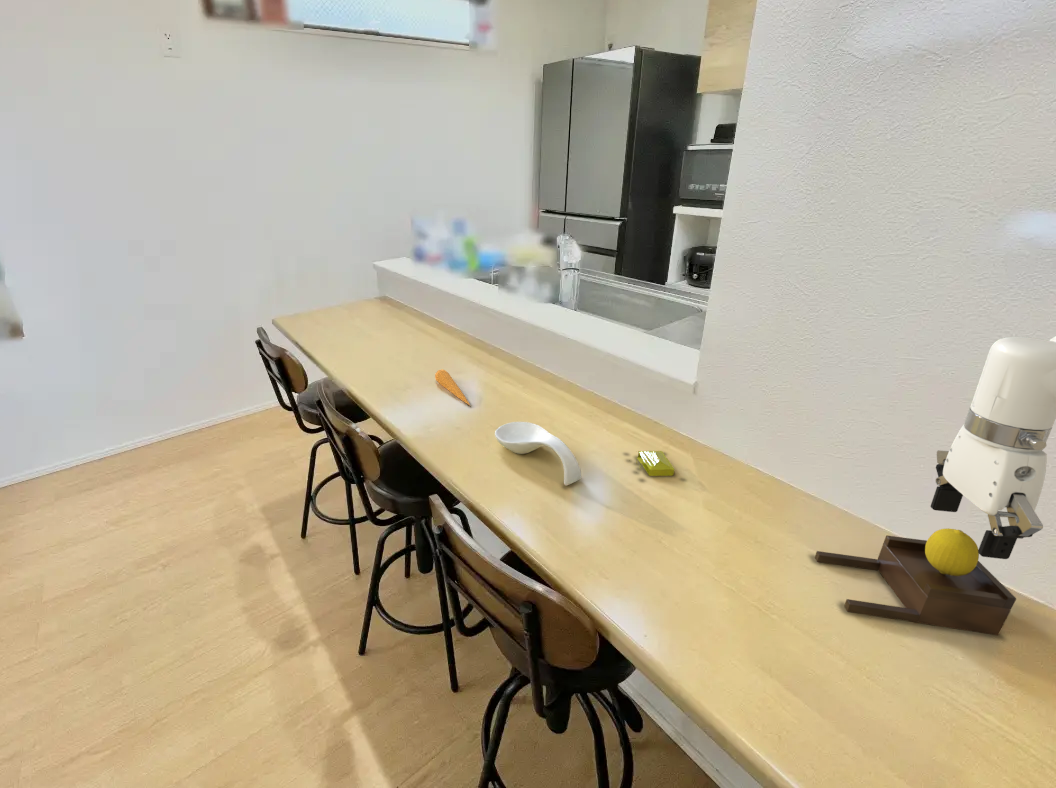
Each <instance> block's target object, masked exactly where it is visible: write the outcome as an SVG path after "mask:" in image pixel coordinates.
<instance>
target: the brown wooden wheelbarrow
mask: <svg viewBox="0 0 1056 788" xmlns="http://www.w3.org/2000/svg"><path fill="white" fill-rule="evenodd" d="M926 542H927V540H926V539H917V538H910V537H904V536H903V537H902V536H895V535H885V538H884V540H883V543H882V545H881V548H880V551H879V554H878V557H877V558H870V557H863V556H858V555H857V556H856V555H849V554H842V553H841V554H840V553H836V552H828V551H820V550H816V552H815V556H814V559H815V561H816V562H817V563H823V564H829V565H838V566H842V567H843V566H844V567H851V568H859V569H866V570H873V571H878V573H880V575H881V577H882V578H883V579H884V580H885V582H886V583H887V584H888V586H889V587H890V588H891V590H892V592H894V594H895V595H896V596H897V598H898V599H899V601H900V602H901V603H902V605H903V606H904V607H902V606H901V607H900V606H895V605H890V604H889V605H888V604H881V603H876V602H870V601H863V600H856V599H849V598H846V600H845V602H844V605H843V606H844V608H845V610H846V612H848V613H855V614H859V615H860V614H861V615H866V616H873V617H879V618H885V619H890V620H891V619H892V620H897V621H906V622H910V623H916V624H917V623H918V624H923V625H929V626H936V627H941V628H944V627H945V628H949V629H955V630H961V631H962V630H963V631H966V632H967V631H969V632H975V633H979V634H987V635H992V636H993V635H995V636H999V635H1000V633H1001V631H1002V630H1003V626H1004V625H1005V622H1006V621H1007V619H1008V617H1009V615H1010V613H1011V611H1012V609H1013V607H1014V605H1015V602H1016V600H1017V597H1016V596H1015V595H1014V594H1013V593H1012V592H1010V590H1009V589H1007V587H1006V586H1004V584H1002V583H1001V582H1000V580H999V579H998V578H997V577H995V576H994V575H993V573H992V572H991V571H990V570H988V569H987V568H986V567H985V565H983V563H982V562H981V561H979V560H978V562H977V565H976V567H975V568H974V569H973V570H972V571H971V572H970V573H968V574H966V575H962V576H952V575H948V574H942V573H940V572H939V570H937V569H936V568H934V567H933V566H932V565H931V564H930V562H929V561H928V559H927V557H926V554H925V546H926Z"/></svg>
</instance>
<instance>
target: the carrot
mask: <svg viewBox="0 0 1056 788" xmlns="http://www.w3.org/2000/svg"><path fill="white" fill-rule="evenodd" d="M434 378H435V381H436V382H437V383H439V385H441V386H442V387H444V388H445V389H446V390H448V391H449V392H450V393H451V394H453V395H454V396H455V397H457V398H458V399H459V400H461V401H462V402H464V403H465V404H467V405H468V406H471V404H470V402H469V400H468V399H467V396H466V395H465V394H464V392H463V391H462V390H461V388H460V387H459V386H458V384H457V382H456V381H455V380H454V379H453V377H452V375H451V374H450V373H449V372H448V371H447V370H445V369H444V368H443V369H438V370H437V371H436V372H435V374H434Z"/></svg>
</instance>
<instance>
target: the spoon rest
mask: <svg viewBox="0 0 1056 788" xmlns="http://www.w3.org/2000/svg"><path fill="white" fill-rule="evenodd" d="M494 437H495V439H496V441H497V442H498V443H499V444H500V446H502V447H504V448H505V449H506V450H509V451H511V452H512V453H515V454H518V455H525V454H530V453H531V452H534V451H535V450H537V449H539V448H541V447H542V446H545V447H548V448H550V449H551V450H552V451H553V452H554V453H556V455H557V456H558V458H559V459H560V461H561V464H562V468H563V484H564V486H569V485H571V484H573V483H576V482H578V481H579V480H581V479H582V470H581V466H580V464H579V462H578V460H577V458H576V456H575V454H574V453H573V452H572V450H571V449H570V448H569V446H568V445H567V444H566V443H565V442H563V441H562V439H560V438H559V437H557V436H556V435H554V434H552V433H550V432H549V431H548V430H546V429H545V428H544V427H542V426H541V425H538V424H537V423H533V422H529V421H512V422H508V423H505V424H502V425H500V426H498V428H496V429H495V431H494Z"/></svg>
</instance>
